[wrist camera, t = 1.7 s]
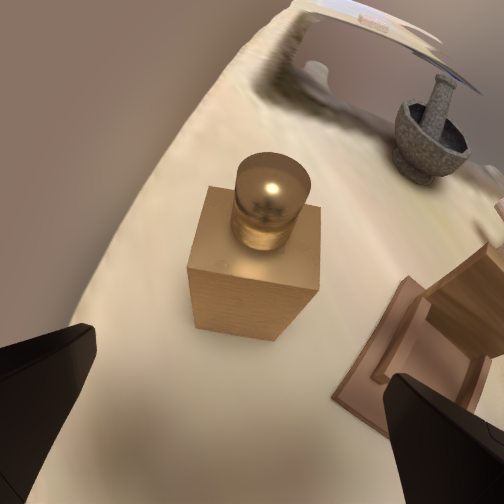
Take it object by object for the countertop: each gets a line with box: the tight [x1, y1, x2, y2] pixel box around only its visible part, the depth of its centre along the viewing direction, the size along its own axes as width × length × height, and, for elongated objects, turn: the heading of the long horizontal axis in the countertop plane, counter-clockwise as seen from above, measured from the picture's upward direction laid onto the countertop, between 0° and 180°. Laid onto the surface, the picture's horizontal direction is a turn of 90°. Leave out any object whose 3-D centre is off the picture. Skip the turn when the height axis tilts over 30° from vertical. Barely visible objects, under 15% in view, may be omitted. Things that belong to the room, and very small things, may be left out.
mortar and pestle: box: [392, 74, 472, 185], centre depth 28 cm, size 11×9×12 cm
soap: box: [358, 14, 389, 33], centre depth 67 cm, size 9×6×3 cm, turn 84°
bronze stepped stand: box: [331, 242, 504, 439], centre depth 16 cm, size 12×12×10 cm
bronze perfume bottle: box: [187, 152, 321, 341], centre depth 16 cm, size 4×6×12 cm
